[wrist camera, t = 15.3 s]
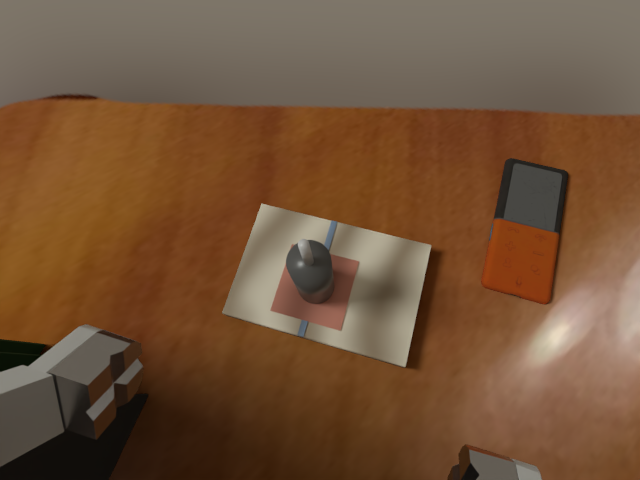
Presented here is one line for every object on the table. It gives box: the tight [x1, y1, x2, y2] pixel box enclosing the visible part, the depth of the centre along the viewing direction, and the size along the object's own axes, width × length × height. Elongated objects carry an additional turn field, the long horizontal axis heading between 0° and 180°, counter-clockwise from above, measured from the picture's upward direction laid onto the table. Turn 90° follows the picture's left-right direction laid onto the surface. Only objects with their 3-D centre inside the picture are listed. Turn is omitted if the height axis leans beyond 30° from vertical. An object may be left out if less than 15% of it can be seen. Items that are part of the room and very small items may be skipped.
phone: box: [481, 158, 568, 304], centre depth 41 cm, size 6×1×15 cm
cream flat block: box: [222, 204, 431, 367], centre depth 40 cm, size 18×12×2 cm, turn 74°
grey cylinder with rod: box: [286, 239, 334, 304], centre depth 33 cm, size 4×4×12 cm
